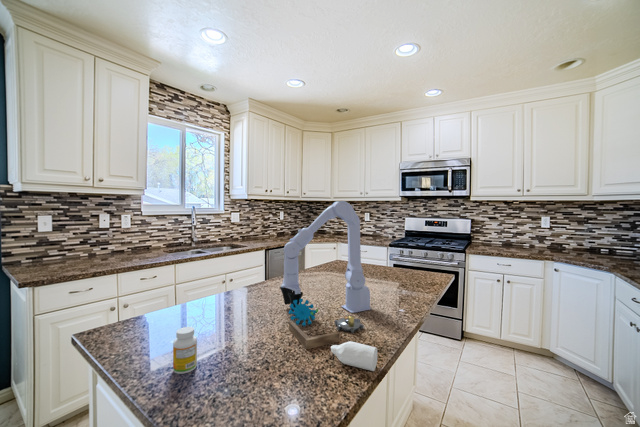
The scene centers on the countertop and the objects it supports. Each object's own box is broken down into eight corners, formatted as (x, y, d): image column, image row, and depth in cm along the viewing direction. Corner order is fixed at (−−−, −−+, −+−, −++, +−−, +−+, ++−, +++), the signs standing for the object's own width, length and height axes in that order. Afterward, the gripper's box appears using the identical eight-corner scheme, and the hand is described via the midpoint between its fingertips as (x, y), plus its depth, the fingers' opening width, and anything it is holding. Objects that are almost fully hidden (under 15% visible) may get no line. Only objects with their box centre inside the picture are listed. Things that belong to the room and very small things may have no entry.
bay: (318, 323, 98) (318, 316, 98) (339, 341, 85) (339, 332, 85) (288, 329, 93) (288, 321, 93) (306, 349, 80) (306, 340, 80)
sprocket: (332, 321, 100) (333, 308, 100) (357, 320, 101) (357, 307, 101) (339, 333, 90) (339, 320, 90) (366, 332, 91) (366, 318, 91)
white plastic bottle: (334, 353, 78) (335, 333, 78) (377, 363, 73) (377, 342, 73) (326, 364, 73) (327, 343, 73) (372, 376, 68) (372, 353, 68)
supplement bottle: (178, 362, 73) (178, 325, 72) (200, 361, 73) (200, 325, 73) (169, 375, 67) (169, 335, 67) (192, 374, 68) (192, 334, 67)
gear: (290, 324, 93) (288, 297, 100) (285, 331, 97) (284, 304, 104) (321, 324, 97) (317, 298, 104) (315, 331, 101) (312, 305, 107)
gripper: (275, 270, 114) (275, 302, 114) (288, 278, 101) (287, 315, 101) (291, 268, 117) (291, 300, 117) (305, 276, 104) (305, 312, 105)
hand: (290, 307), depth 110 cm, fingers open, 7 cm apart
